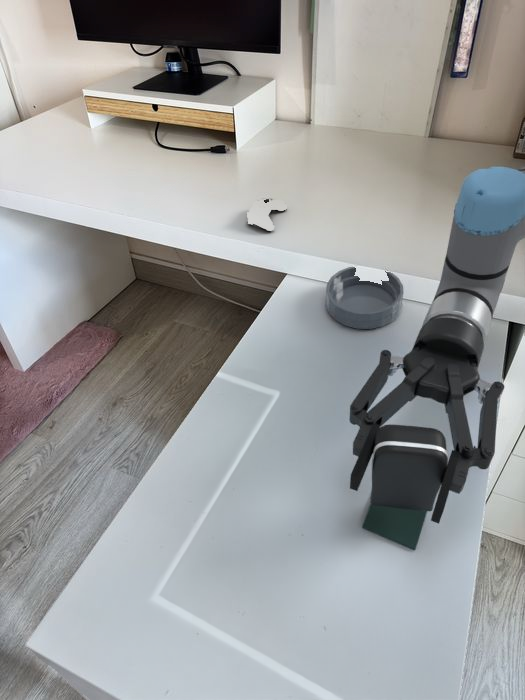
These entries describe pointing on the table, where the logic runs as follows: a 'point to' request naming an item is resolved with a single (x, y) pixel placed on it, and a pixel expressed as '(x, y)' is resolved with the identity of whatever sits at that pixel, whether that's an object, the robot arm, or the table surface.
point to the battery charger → (407, 467)
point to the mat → (395, 524)
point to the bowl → (363, 300)
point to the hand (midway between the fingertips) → (394, 498)
